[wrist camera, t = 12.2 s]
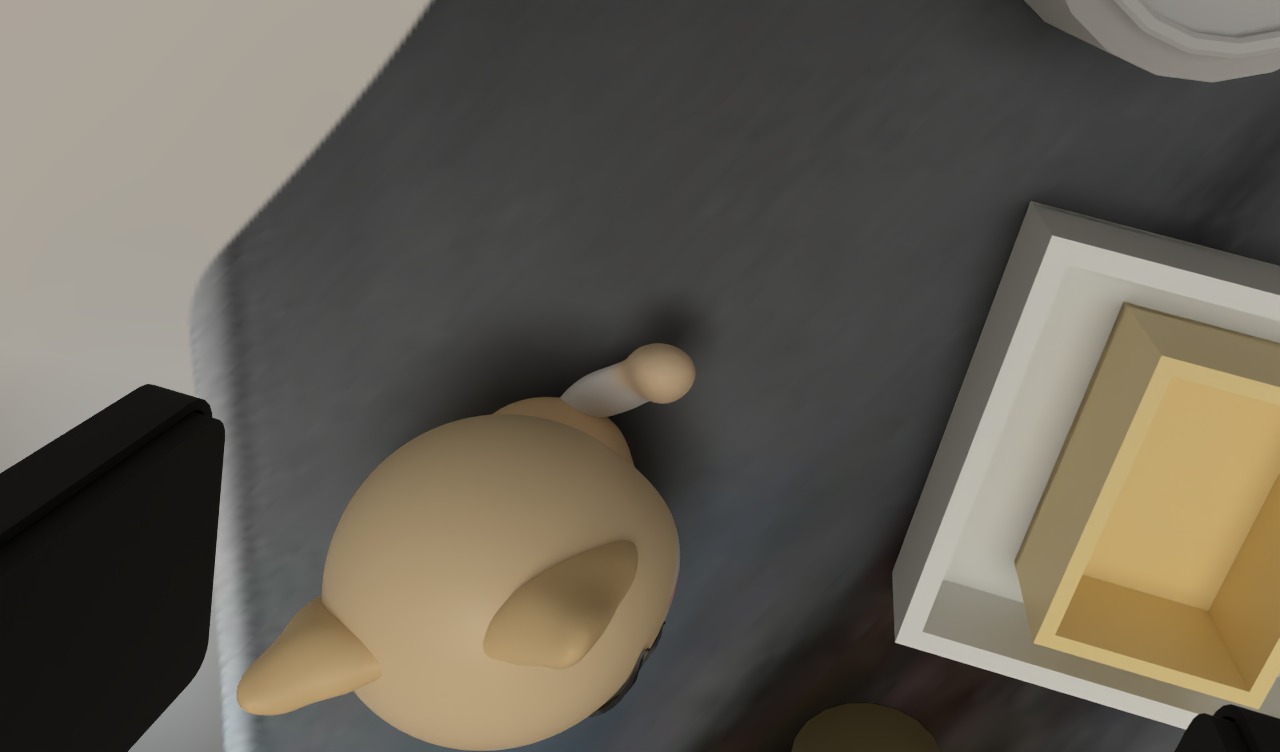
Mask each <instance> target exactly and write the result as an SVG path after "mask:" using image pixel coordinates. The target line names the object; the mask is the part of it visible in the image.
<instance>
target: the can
mask: <svg viewBox="0 0 1280 752" xmlns="http://www.w3.org/2000/svg"><path fill="white" fill-rule="evenodd" d="M1024 1H1025V2H1026V3H1027V4H1028V5H1029V6H1030V7H1031V8H1032V9H1033V10H1034V11H1035V12H1036V13H1037V14H1038V15H1039V16H1040V17H1041V19H1042V20H1043V21H1044V22H1046V23H1048V24H1050V25H1052V26H1054V27H1056V28H1058V29H1060V30H1062V31H1064V32H1066V33H1069V34H1071V35H1073V36H1075V37H1077V38H1079V39H1081V40H1083V41H1085V42H1087V43H1089V44H1091V45H1093V46H1096V47H1098V48H1100V49H1102V50H1104V51H1106V52H1108V53H1110V54H1113V55H1115V56H1117V57H1119V58H1121V59H1123V60H1125V61H1127V62H1129V63H1132V64H1134V65H1136V66H1138V67H1140V68H1142V69H1144V70H1146V71H1148V72H1151V73H1153V74H1155V75H1158V76H1166V77H1174V78H1182V79H1190V80H1198V81H1205V82H1218V81H1224V80H1230V79H1235V78H1241V77H1247V76H1253V75H1258V74H1264V73H1270V72H1274V71H1276V70H1278V69H1280V0H1024Z"/></svg>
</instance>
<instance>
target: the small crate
mask: <svg viewBox="0 0 1280 752" xmlns="http://www.w3.org/2000/svg"><path fill="white" fill-rule="evenodd" d="M1014 563H1015V567H1016V572H1017V576H1018V580H1019V584H1020V588H1021V593H1022V597H1023V601H1024V605H1025V610H1026V614H1027V618H1028V622H1029V627H1030V631H1031V635H1032V639H1033V643H1034V644H1038V645H1041V646H1045V647H1048V648H1051V649H1055V650H1058V651H1062V652H1065V653H1068V654H1072V655H1075V656H1079V657H1082V658H1085V659H1089V660H1092V661H1096V662H1099V663H1102V664H1106V665H1109V666H1112V667H1116V668H1119V669H1123V670H1126V671H1129V672H1133V673H1136V674H1140V675H1143V676H1146V677H1150V678H1153V679H1157V680H1160V681H1163V682H1167V683H1170V684H1174V685H1177V686H1180V687H1184V688H1187V689H1190V690H1194V691H1197V692H1201V693H1204V694H1207V695H1211V696H1214V697H1218V698H1221V699H1224V700H1228V701H1231V702H1235V703H1238V704H1241V705H1245V706H1248V707H1252V708H1255V709H1258V710H1259V708H1260V707H1261V705H1262V703H1263V701H1264V700H1265V698H1266V696H1267V694H1268V692H1269V691H1270V689H1271V687H1272V685H1273V683H1274V682H1275V680H1276V678H1277V676H1278V675H1279V673H1280V343H1278V342H1274V341H1270V340H1266V339H1262V338H1259V337H1255V336H1251V335H1247V334H1244V333H1240V332H1236V331H1232V330H1229V329H1225V328H1221V327H1217V326H1214V325H1210V324H1206V323H1202V322H1199V321H1195V320H1191V319H1187V318H1184V317H1180V316H1176V315H1172V314H1169V313H1165V312H1161V311H1157V310H1153V309H1150V308H1146V307H1142V306H1138V305H1135V304H1131V303H1127V302H1123V304H1122V306H1121V309H1120V311H1119V314H1118V316H1117V318H1116V321H1115V323H1114V325H1113V328H1112V330H1111V333H1110V335H1109V337H1108V340H1107V342H1106V344H1105V347H1104V349H1103V352H1102V354H1101V356H1100V359H1099V361H1098V363H1097V366H1096V368H1095V371H1094V373H1093V375H1092V378H1091V380H1090V382H1089V385H1088V387H1087V390H1086V392H1085V394H1084V397H1083V399H1082V401H1081V404H1080V406H1079V409H1078V411H1077V413H1076V416H1075V418H1074V420H1073V423H1072V425H1071V428H1070V430H1069V432H1068V435H1067V437H1066V439H1065V442H1064V444H1063V447H1062V449H1061V451H1060V454H1059V456H1058V458H1057V461H1056V463H1055V466H1054V468H1053V470H1052V473H1051V475H1050V477H1049V480H1048V482H1047V485H1046V487H1045V489H1044V492H1043V494H1042V496H1041V499H1040V501H1039V504H1038V506H1037V508H1036V511H1035V513H1034V515H1033V518H1032V520H1031V523H1030V525H1029V527H1028V530H1027V532H1026V534H1025V537H1024V539H1023V541H1022V544H1021V546H1020V549H1019V551H1018V553H1017V556H1016V558H1015V560H1014Z"/></svg>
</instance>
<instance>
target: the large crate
mask: <svg viewBox="0 0 1280 752" xmlns="http://www.w3.org/2000/svg"><path fill="white" fill-rule="evenodd" d="M1123 302H1127V303H1131V304H1135V305H1138V306H1142V307H1146V308H1150V309H1153V310H1157V311H1161V312H1165V313H1169V314H1172V315H1176V316H1180V317H1184V318H1187V319H1191V320H1195V321H1199V322H1202V323H1206V324H1210V325H1214V326H1217V327H1221V328H1225V329H1229V330H1232V331H1236V332H1240V333H1244V334H1247V335H1251V336H1255V337H1259V338H1262V339H1266V340H1270V341H1274V342H1278V343H1280V266H1278V265H1274V264H1270V263H1267V262H1263V261H1259V260H1255V259H1251V258H1247V257H1244V256H1240V255H1236V254H1232V253H1228V252H1225V251H1221V250H1217V249H1213V248H1209V247H1205V246H1202V245H1198V244H1194V243H1190V242H1186V241H1182V240H1179V239H1175V238H1171V237H1167V236H1163V235H1160V234H1156V233H1152V232H1148V231H1144V230H1140V229H1137V228H1133V227H1129V226H1125V225H1121V224H1117V223H1114V222H1110V221H1106V220H1102V219H1098V218H1095V217H1091V216H1087V215H1083V214H1079V213H1075V212H1072V211H1068V210H1064V209H1060V208H1056V207H1052V206H1049V205H1045V204H1041V203H1037V202H1033V201H1030V204H1029V207H1028V209H1027V212H1026V215H1025V217H1024V220H1023V223H1022V225H1021V228H1020V231H1019V233H1018V236H1017V239H1016V241H1015V244H1014V247H1013V249H1012V252H1011V255H1010V258H1009V260H1008V263H1007V266H1006V268H1005V271H1004V274H1003V276H1002V279H1001V282H1000V284H999V287H998V290H997V292H996V295H995V298H994V300H993V303H992V306H991V309H990V311H989V314H988V317H987V319H986V322H985V325H984V327H983V330H982V333H981V335H980V338H979V341H978V343H977V346H976V349H975V351H974V354H973V357H972V359H971V362H970V365H969V368H968V370H967V373H966V376H965V378H964V381H963V384H962V386H961V389H960V392H959V394H958V397H957V400H956V402H955V405H954V408H953V410H952V413H951V416H950V419H949V421H948V424H947V427H946V429H945V432H944V435H943V437H942V440H941V443H940V445H939V448H938V451H937V453H936V456H935V459H934V461H933V464H932V467H931V469H930V472H929V475H928V478H927V480H926V483H925V486H924V488H923V491H922V494H921V496H920V499H919V502H918V504H917V507H916V510H915V512H914V515H913V518H912V520H911V523H910V526H909V529H908V531H907V534H906V537H905V539H904V542H903V545H902V547H901V550H900V553H899V555H898V558H897V561H896V563H895V566H894V569H893V571H892V579H893V603H894V628H895V643H899V644H902V645H905V646H909V647H912V648H915V649H919V650H922V651H925V652H929V653H932V654H935V655H939V656H942V657H945V658H949V659H952V660H955V661H959V662H962V663H965V664H969V665H972V666H975V667H979V668H982V669H985V670H989V671H992V672H995V673H999V674H1002V675H1006V676H1009V677H1012V678H1016V679H1019V680H1022V681H1026V682H1029V683H1032V684H1036V685H1039V686H1042V687H1046V688H1049V689H1052V690H1056V691H1059V692H1062V693H1066V694H1069V695H1072V696H1076V697H1079V698H1082V699H1086V700H1089V701H1092V702H1096V703H1099V704H1102V705H1106V706H1109V707H1112V708H1116V709H1119V710H1122V711H1126V712H1129V713H1132V714H1136V715H1139V716H1142V717H1146V718H1149V719H1153V720H1156V721H1159V722H1163V723H1166V724H1169V725H1173V726H1176V727H1179V728H1183V729H1187V728H1188V726H1189V724H1190V723H1191V721H1192V720H1193V718H1195V717H1196V716H1197V715H1198V714H1202V713H1206V714H1209V715H1214V713H1215V712H1216V711H1217V710H1218V709H1220V708H1221V707H1222V706H1224V705H1229V704H1232V705H1236V706H1239V707H1242V708H1246V709H1249V710H1253V711H1256V712H1259V713H1263V714H1266V715H1269V716H1273V717H1276V718H1280V673H1279V675H1278V676H1277V678H1276V680H1275V682H1274V683H1273V685H1272V687H1271V689H1270V691H1269V692H1268V694H1267V696H1266V698H1265V700H1264V701H1263V703H1262V705H1261V707H1260V708H1259V710H1258V709H1255V708H1252V707H1248V706H1245V705H1241V704H1238V703H1235V702H1231V701H1228V700H1224V699H1221V698H1218V697H1214V696H1211V695H1207V694H1204V693H1201V692H1197V691H1194V690H1190V689H1187V688H1184V687H1180V686H1177V685H1174V684H1170V683H1167V682H1163V681H1160V680H1157V679H1153V678H1150V677H1146V676H1143V675H1140V674H1136V673H1133V672H1129V671H1126V670H1123V669H1119V668H1116V667H1112V666H1109V665H1106V664H1102V663H1099V662H1096V661H1092V660H1089V659H1085V658H1082V657H1079V656H1075V655H1072V654H1068V653H1065V652H1062V651H1058V650H1055V649H1051V648H1048V647H1045V646H1041V645H1038V644H1034V643H1033V639H1032V635H1031V631H1030V627H1029V622H1028V618H1027V614H1026V610H1025V605H1024V601H1023V597H1022V593H1021V588H1020V584H1019V580H1018V576H1017V572H1016V567H1015V563H1014V560H1015V558H1016V556H1017V553H1018V551H1019V549H1020V546H1021V544H1022V541H1023V539H1024V537H1025V534H1026V532H1027V530H1028V527H1029V525H1030V523H1031V520H1032V518H1033V515H1034V513H1035V511H1036V508H1037V506H1038V504H1039V501H1040V499H1041V496H1042V494H1043V492H1044V489H1045V487H1046V485H1047V482H1048V480H1049V477H1050V475H1051V473H1052V470H1053V468H1054V466H1055V463H1056V461H1057V458H1058V456H1059V454H1060V451H1061V449H1062V447H1063V444H1064V442H1065V439H1066V437H1067V435H1068V432H1069V430H1070V428H1071V425H1072V423H1073V420H1074V418H1075V416H1076V413H1077V411H1078V409H1079V406H1080V404H1081V401H1082V399H1083V397H1084V394H1085V392H1086V390H1087V387H1088V385H1089V382H1090V380H1091V378H1092V375H1093V373H1094V371H1095V368H1096V366H1097V363H1098V361H1099V359H1100V356H1101V354H1102V352H1103V349H1104V347H1105V344H1106V342H1107V340H1108V337H1109V335H1110V333H1111V330H1112V328H1113V325H1114V323H1115V321H1116V318H1117V316H1118V314H1119V311H1120V309H1121V306H1122V304H1123Z"/></svg>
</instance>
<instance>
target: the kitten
mask: <svg viewBox="0 0 1280 752" xmlns="http://www.w3.org/2000/svg"><path fill="white" fill-rule="evenodd" d="M695 376H696V371H695V366H694V363H693V361H692V360H691V358H690V357H689V356H688V355H687V354H686V353H685V352H684V351H682V350H681V349H679V348H677V347H675V346H672V345H668V344H663V343H653V344H648V345H645V346H642V347H640V348H638V349H636V350H635V351H634V352H633V353H631V354H630V355H629V357H628V358H627V359H625V360H624V361H622V362H619V363H617V364H614V365H611V366H608V367H605V368H603V369H600V370H597V371H595V372H592V373H590V374H588V375H586V376H584V377H583V378H581V379H580V380H578V381H577V382H575V383H574V384H573V385H572V386H570V387H569V388H568V389H567V390H566V391H565V392H564V394H563V395H562V396H561V397H560V398H558V397H536V398H529V399H524V400H521V401H517V402H514V403H512V404H509V405H507V406H505V407H503V408H501V409H499V410H498V411H496V412H495V413H493V414H492V415H482V416H475V417H470V418H465V419H461V420H457V421H453V422H450V423H447V424H444V425H441V426H439V427H436V428H434V429H432V430H429V431H427V432H425V433H423V434H421V435H419V436H417V437H416V438H414V439H412V440H411V441H409V442H407V443H406V444H404V445H403V446H401V447H400V448H399V449H397V450H396V451H395V452H393V453H392V454H391V455H390V456H388V457H387V458H386V459H385V460H384V461H383V462H382V463H381V464H380V465H379V466H378V467H377V468H376V469H375V470H374V471H373V472H372V473H371V474H370V475H369V476H368V477H367V479H366V480H365V481H364V482H363V484H362V485H361V486H360V487H359V489H358V490H357V492H356V493H355V495H354V496H353V498H352V499H351V501H350V502H349V504H348V506H347V507H346V509H345V511H344V513H343V515H342V517H341V519H340V521H339V523H338V526H337V528H336V530H335V533H334V535H333V538H332V541H331V544H330V547H329V551H328V554H327V559H326V563H325V569H324V575H323V584H322V596H320V597H318V598H316V599H314V600H313V601H311V602H310V603H308V604H307V605H306V606H305V607H303V608H302V609H301V610H300V611H299V612H298V613H297V614H296V615H295V616H294V617H293V618H292V620H291V621H290V622H289V624H288V625H287V627H286V628H285V629H284V631H283V632H282V634H281V635H280V636H279V637H278V639H277V640H276V641H275V642H274V643H273V644H272V645H271V646H270V647H269V648H268V649H267V650H266V651H265V652H264V653H263V654H262V655H261V656H260V657H259V658H258V659H257V660H256V661H255V662H254V663H253V664H252V665H251V666H250V667H249V668H248V669H247V670H246V672H245V673H244V675H243V676H242V678H241V680H240V682H239V685H238V687H237V701H238V703H239V706H240V707H241V708H242V709H243V710H244V711H246V712H248V713H251V714H256V715H279V714H284V713H288V712H291V711H294V710H296V709H298V708H301V707H303V706H306V705H309V704H312V703H315V702H318V701H321V700H325V699H328V698H332V697H336V696H339V695H344V694H346V693H349V692H352V691H354V692H355V693H356V695H357V696H358V697H359V698H360V699H361V700H362V701H363V702H364V703H365V704H366V705H367V706H368V707H369V708H370V709H371V710H372V711H373V712H374V713H376V714H377V715H378V716H379V717H381V718H382V719H383V720H385V721H386V722H388V723H389V724H391V725H392V726H394V727H395V728H397V729H399V730H401V731H403V732H404V733H407V734H409V735H411V736H413V737H415V738H418V739H420V740H423V741H426V742H429V743H432V744H435V745H439V746H443V747H448V748H454V749H461V750H473V751H490V750H502V749H509V748H515V747H520V746H524V745H528V744H532V743H535V742H538V741H541V740H544V739H547V738H549V737H552V736H554V735H556V734H558V733H561V732H563V731H565V730H566V729H568V728H570V727H572V726H574V725H576V724H577V723H579V722H580V721H582V720H583V719H585V718H586V717H594V716H597V715H601V714H603V713H605V712H607V711H608V710H610V709H612V708H613V707H614V706H615V705H616V704H618V703H619V702H620V700H621V699H622V698H623V697H624V695H625V694H626V693H627V692H628V691H629V689H630V688H631V687H632V686H633V684H634V683H635V681H636V679H637V676H638V672H639V670H640V668H641V667H642V666H643V664H644V663H645V661H646V660H647V659H648V657H649V656H650V655H651V653H652V652H653V651H654V649H655V648H656V646H657V644H658V642H659V640H660V638H661V634H662V628H663V625H664V624H665V622H664V620H665V618H666V616H667V613H668V611H669V608H670V605H671V603H672V600H673V596H674V593H675V589H676V585H677V581H678V575H679V567H680V545H679V538H678V533H677V529H676V525H675V522H674V520H673V517H672V515H671V512H670V510H669V508H668V507H667V505H666V503H665V501H664V500H663V498H662V497H661V495H660V494H659V493H658V491H657V490H656V489H655V488H654V486H653V485H652V484H651V483H650V482H649V481H648V480H647V479H646V478H645V477H644V476H643V475H642V474H641V473H640V472H639V471H638V470H637V469H636V468H635V467H634V464H633V460H632V457H631V453H630V450H629V447H628V445H627V442H626V440H625V438H624V436H623V434H622V433H621V431H620V430H619V428H618V427H617V426H616V425H615V424H614V423H613V422H612V421H611V420H610V419H609V418H608V416H613V415H616V414H619V413H623V412H626V411H628V410H631V409H634V408H636V407H638V406H640V405H642V404H644V403H646V402H649V401H652V402H654V403H661V404H665V403H671V402H674V401H676V400H678V399H680V398H681V397H683V396H684V395H685V394H686V393H687V392H688V391H689V390H690V388H691V387H692V385H693V383H694V380H695ZM658 633H659V634H658ZM657 635H658V636H657Z"/></svg>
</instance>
